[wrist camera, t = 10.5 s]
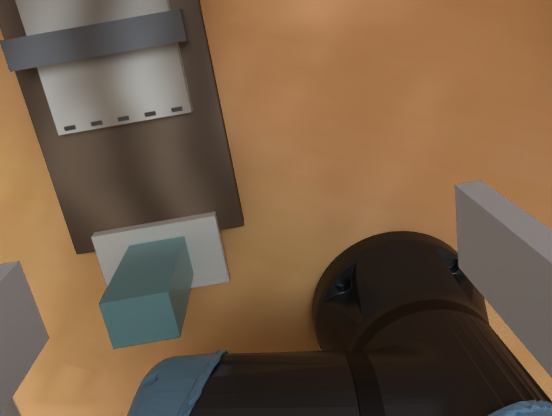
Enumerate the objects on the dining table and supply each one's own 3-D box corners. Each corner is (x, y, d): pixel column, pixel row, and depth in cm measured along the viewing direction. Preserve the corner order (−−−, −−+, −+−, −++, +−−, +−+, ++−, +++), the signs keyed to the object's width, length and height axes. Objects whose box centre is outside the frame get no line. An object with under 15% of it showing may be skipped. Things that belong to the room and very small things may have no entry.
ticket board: (191, -37, 37) (184, -45, 32) (243, 219, 44) (243, 240, 39) (-1, -3, 37) (-33, -6, 32) (82, 246, 44) (64, 271, 39)
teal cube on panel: (215, 211, 42) (206, 267, 32) (229, 276, 44) (224, 346, 34) (94, 232, 42) (50, 294, 32) (114, 295, 44) (78, 371, 34)
